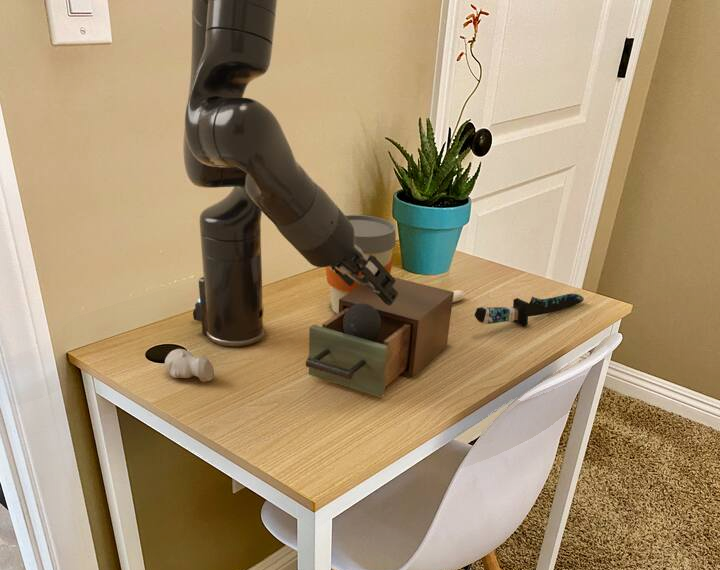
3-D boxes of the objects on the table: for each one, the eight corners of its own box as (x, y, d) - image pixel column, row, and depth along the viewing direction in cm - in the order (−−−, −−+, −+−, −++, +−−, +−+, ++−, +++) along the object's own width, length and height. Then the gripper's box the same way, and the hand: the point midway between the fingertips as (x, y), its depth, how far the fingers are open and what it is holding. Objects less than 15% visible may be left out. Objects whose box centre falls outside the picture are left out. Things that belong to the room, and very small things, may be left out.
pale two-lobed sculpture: (161, 380, 114) (184, 360, 116) (199, 396, 110) (221, 375, 113) (151, 358, 111) (175, 338, 113) (189, 374, 107) (213, 353, 109)
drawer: (363, 413, 105) (367, 363, 101) (289, 389, 110) (289, 340, 105) (417, 365, 118) (422, 318, 114) (348, 345, 123) (350, 299, 118)
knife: (475, 334, 128) (481, 309, 125) (463, 327, 130) (469, 302, 127) (589, 317, 145) (597, 295, 142) (578, 312, 147) (585, 289, 144)
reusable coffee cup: (392, 298, 142) (399, 217, 133) (387, 325, 132) (394, 240, 123) (327, 292, 143) (329, 211, 134) (317, 318, 133) (318, 233, 124)
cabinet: (412, 378, 116) (418, 320, 111) (336, 355, 121) (338, 299, 116) (446, 346, 126) (454, 291, 121) (375, 326, 131) (379, 273, 126)
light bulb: (342, 357, 117) (345, 295, 111) (378, 359, 116) (383, 298, 111) (339, 374, 112) (342, 311, 106) (377, 376, 112) (382, 313, 106)
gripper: (366, 213, 91) (422, 284, 104) (295, 184, 100) (355, 253, 113) (330, 264, 91) (391, 328, 105) (262, 231, 100) (326, 294, 113)
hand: (372, 289), depth 109 cm, fingers open, 8 cm apart
